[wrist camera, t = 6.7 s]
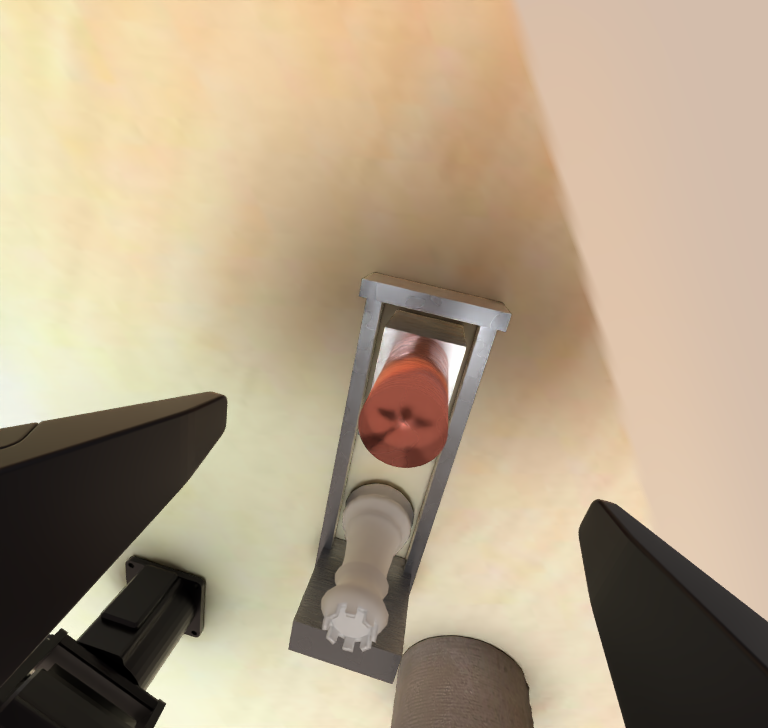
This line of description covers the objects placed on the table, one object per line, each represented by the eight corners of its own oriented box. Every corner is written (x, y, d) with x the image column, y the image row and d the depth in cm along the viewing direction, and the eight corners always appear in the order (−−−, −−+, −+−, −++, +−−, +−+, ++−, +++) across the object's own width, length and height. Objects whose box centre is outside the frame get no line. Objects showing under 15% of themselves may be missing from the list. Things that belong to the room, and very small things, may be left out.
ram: (438, 423, 21) (431, 562, 12) (371, 404, 21) (314, 527, 12) (467, 326, 19) (484, 407, 10) (392, 308, 19) (343, 370, 10)
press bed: (407, 591, 26) (396, 690, 20) (318, 563, 26) (282, 652, 21) (502, 302, 18) (525, 331, 13) (375, 272, 19) (343, 287, 13)
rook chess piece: (367, 542, 25) (332, 673, 17) (334, 491, 24) (282, 606, 16) (426, 525, 24) (416, 658, 16) (394, 469, 23) (368, 584, 15)
